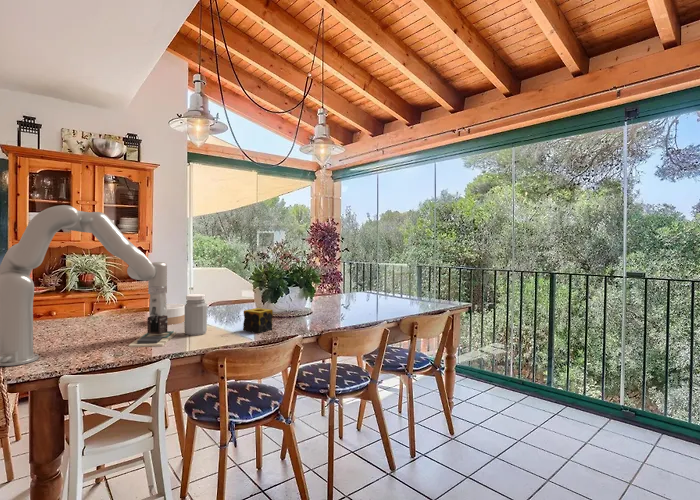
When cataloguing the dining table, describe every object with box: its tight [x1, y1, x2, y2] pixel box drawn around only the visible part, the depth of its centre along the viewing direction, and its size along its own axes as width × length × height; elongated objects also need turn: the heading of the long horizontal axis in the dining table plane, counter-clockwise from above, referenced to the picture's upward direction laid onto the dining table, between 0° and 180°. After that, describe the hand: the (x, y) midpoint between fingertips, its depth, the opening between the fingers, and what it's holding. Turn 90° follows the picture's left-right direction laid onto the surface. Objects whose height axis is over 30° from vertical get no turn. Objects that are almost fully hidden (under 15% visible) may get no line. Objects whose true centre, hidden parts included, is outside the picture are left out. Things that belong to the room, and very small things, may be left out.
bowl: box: [148, 303, 186, 326], centre depth 218 cm, size 17×17×8 cm
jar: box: [183, 293, 208, 337], centre depth 192 cm, size 10×10×18 cm
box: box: [146, 315, 168, 334], centre depth 185 cm, size 6×6×7 cm
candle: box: [242, 307, 274, 334], centre depth 201 cm, size 10×10×10 cm
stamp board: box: [128, 330, 177, 348], centre depth 179 cm, size 22×13×2 cm, turn 9°
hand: (157, 329), depth 185 cm, fingers closed on box, 7 cm apart
